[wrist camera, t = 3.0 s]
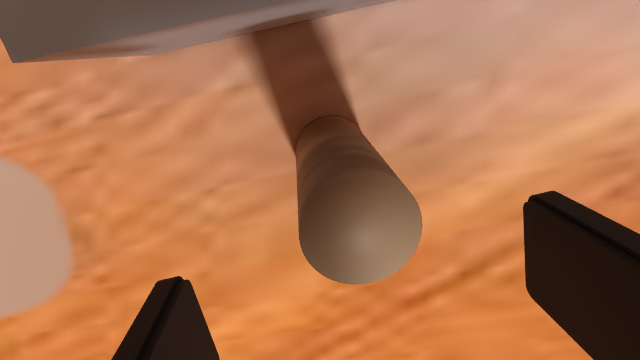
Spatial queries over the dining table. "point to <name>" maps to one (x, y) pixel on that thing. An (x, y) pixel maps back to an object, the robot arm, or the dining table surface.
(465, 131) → the dining table surface
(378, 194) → the walnut peg
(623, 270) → the robot arm
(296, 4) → the low wall
